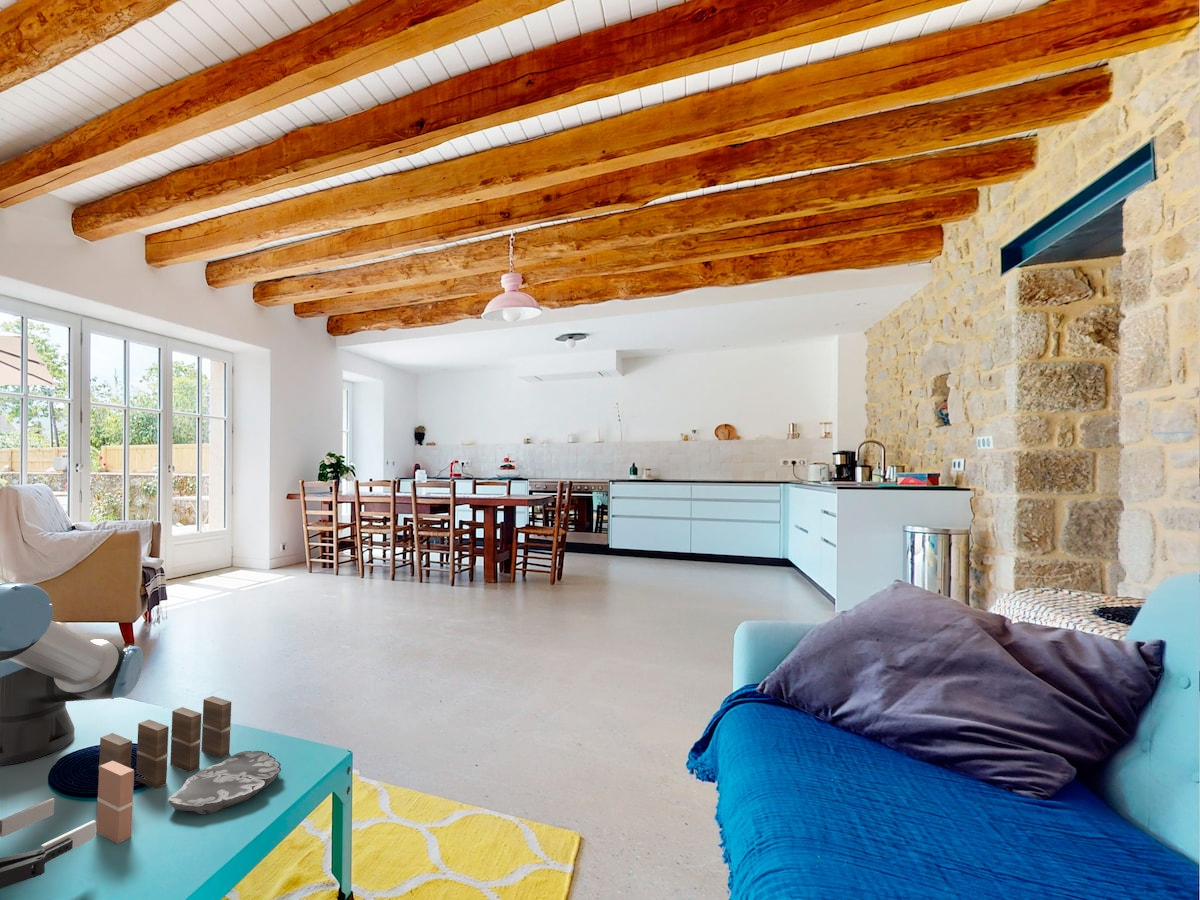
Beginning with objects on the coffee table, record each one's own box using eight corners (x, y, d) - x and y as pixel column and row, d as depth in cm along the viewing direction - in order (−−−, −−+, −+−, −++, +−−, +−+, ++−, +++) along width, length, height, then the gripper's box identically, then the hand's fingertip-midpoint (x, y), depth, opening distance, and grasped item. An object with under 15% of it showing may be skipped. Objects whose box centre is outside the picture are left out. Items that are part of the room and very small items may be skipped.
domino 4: (189, 772, 118) (191, 717, 118) (169, 764, 121) (172, 710, 121) (199, 767, 120) (201, 713, 120) (180, 760, 123) (182, 706, 123)
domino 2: (117, 843, 96) (120, 775, 96) (95, 832, 99) (98, 766, 99) (131, 836, 98) (134, 769, 98) (109, 825, 101) (112, 760, 101)
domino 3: (155, 789, 112) (157, 730, 112) (135, 780, 115) (137, 723, 115) (166, 783, 114) (169, 726, 114) (146, 775, 117) (149, 719, 117)
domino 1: (117, 807, 106) (119, 745, 106) (97, 797, 109) (99, 737, 109) (129, 801, 108) (132, 740, 108) (110, 791, 111) (112, 732, 111)
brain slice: (233, 826, 102) (234, 810, 102) (152, 818, 103) (152, 802, 104) (301, 767, 121) (302, 754, 121) (231, 761, 123) (232, 748, 123)
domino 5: (220, 758, 124) (222, 705, 124) (201, 750, 127) (203, 699, 127) (229, 753, 126) (231, 701, 126) (210, 746, 128) (212, 695, 129)
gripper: (-163, 905, 78) (36, 818, 98) (-94, 975, 68) (112, 862, 88) (-160, 853, 78) (37, 776, 98) (-91, 915, 68) (114, 815, 88)
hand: (73, 816), depth 93 cm, fingers open, 13 cm apart
